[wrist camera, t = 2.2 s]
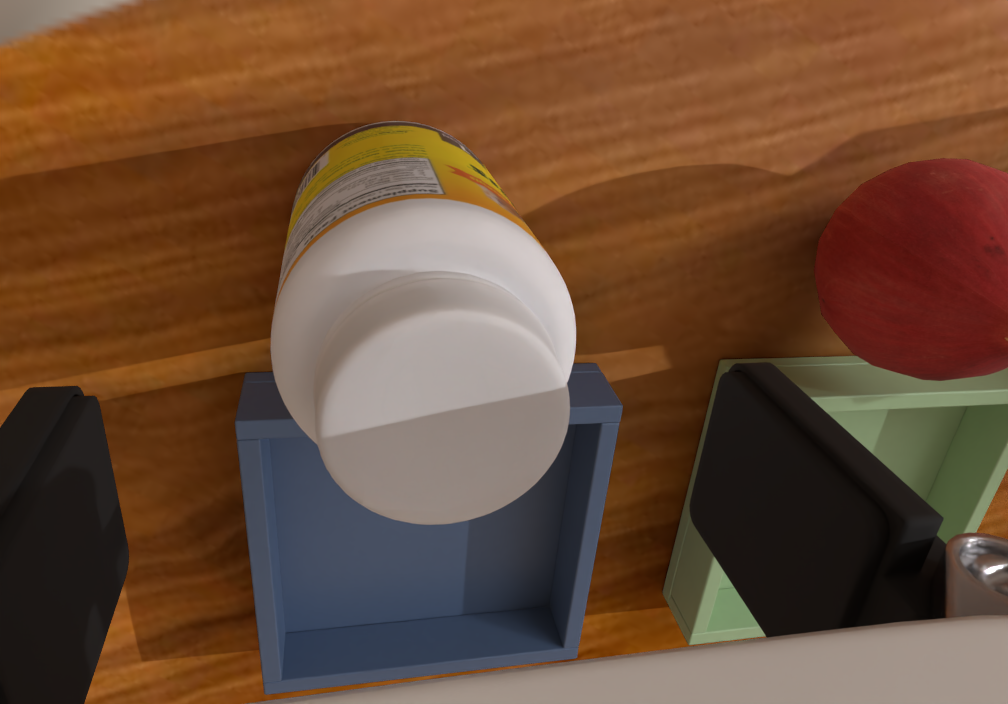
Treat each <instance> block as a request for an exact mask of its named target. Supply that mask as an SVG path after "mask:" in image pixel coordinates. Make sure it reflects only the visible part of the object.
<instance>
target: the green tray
mask: <svg viewBox="0 0 1008 704" xmlns="http://www.w3.org/2000/svg"><path fill="white" fill-rule="evenodd" d="M760 362H770V363H771V364H773V365H775V366H776V367H777V368H778V369H779V370H780V371H781V372H782V373H783V374H785V375H786V376H787V377H788V378H789V379H790V380H791V381H792V382H793V383H795V384H796V385H797V386H798V387H799V388H800V389H801V390H802V391H803V392H805V393H806V394H807V395H808V396H809V397H810V398H811V399H812V400H813V401H815V402H816V403H817V404H818V405H819V406H820V407H821V408H822V409H823V410H825V411H826V412H827V413H828V414H829V415H830V416H831V417H832V418H833V419H835V420H836V421H837V422H838V423H839V424H840V425H841V426H842V427H843V428H845V429H846V430H847V431H848V432H849V433H850V434H851V435H852V436H853V437H855V438H856V439H857V440H858V441H859V442H860V443H861V444H862V445H863V446H864V447H866V448H867V449H868V450H869V451H870V452H871V453H872V454H873V455H874V456H876V457H877V458H878V459H879V460H880V461H881V462H882V463H883V464H884V465H886V466H887V467H888V468H889V469H890V470H891V471H892V472H893V473H894V474H896V475H897V476H898V477H899V478H900V479H901V480H902V481H903V482H904V483H906V484H907V485H908V486H909V487H910V488H911V489H912V490H913V491H914V492H916V493H917V494H918V495H919V496H920V497H921V498H922V499H923V500H924V501H926V502H927V503H928V504H929V505H930V506H931V507H932V508H933V509H934V510H936V511H937V512H938V513H939V514H940V515H941V516H942V517H943V518H944V519H943V522H942V524H941V526H940V528H939V531H938V533H937V536H938V537H939V538H940V539H941V540H943V541H944V542H945V543H946V544H947V542H948V540H950V539H951V538H953V537H954V536H955V535H958V534H963V533H969V532H970V533H976V531H977V529H978V527H979V525H980V523H981V521H982V519H983V517H984V515H985V513H986V511H987V509H988V507H989V505H990V503H991V501H992V499H993V497H994V495H995V493H996V491H997V489H998V487H999V485H1000V483H1001V481H1002V479H1003V477H1004V475H1005V473H1006V471H1007V469H1008V368H1006V369H1004V370H1001V371H999V372H996V373H992V374H989V375H985V376H978V377H970V378H961V379H953V380H945V381H932V380H921V379H918V378H914V377H910V376H907V375H903V374H900V373H896V372H893V371H889V370H886V369H882V368H879V367H876V366H872V365H871V364H869V363H868V362H866V361H864V360H863V359H861V358H860V357H858V356H832V357H797V358H761V359H725V360H720V362H719V366H718V370H717V374H716V378H715V382H714V386H713V390H712V394H711V398H710V402H709V406H708V410H707V414H706V418H705V422H704V426H703V430H702V434H701V438H700V443H699V447H698V451H697V455H696V459H695V463H694V467H693V471H692V475H691V479H690V483H689V487H688V491H687V495H686V499H685V503H684V507H683V511H682V515H681V519H680V523H679V527H678V531H677V536H676V540H675V544H674V548H673V552H672V556H671V560H670V564H669V568H668V572H667V576H666V580H665V584H664V588H663V592H662V593H663V596H664V597H665V599H666V601H667V603H668V605H669V607H670V609H671V611H672V613H673V615H674V617H675V619H676V621H677V623H678V625H679V627H680V629H681V631H682V633H683V635H684V637H685V639H686V641H687V643H688V644H689V645H695V644H703V643H712V642H720V641H729V640H737V639H746V638H755V637H763V636H766V635H765V634H764V632H763V631H762V629H761V628H760V626H759V625H758V623H757V622H756V620H755V619H754V617H753V615H752V614H751V612H750V611H749V609H748V608H747V606H746V605H745V603H744V602H743V600H742V599H741V597H740V595H739V594H738V592H737V591H736V589H735V588H734V586H733V585H732V583H731V582H730V580H729V579H728V577H727V576H726V574H725V572H724V571H723V569H722V568H721V566H720V565H719V563H718V562H717V560H716V559H715V557H714V556H713V554H712V552H711V551H710V549H709V548H708V546H707V545H706V543H705V542H704V540H703V539H702V537H701V536H700V534H699V533H698V531H697V529H696V528H695V526H694V525H693V523H692V520H691V517H690V507H689V505H690V499H691V495H692V491H693V487H694V483H695V478H696V474H697V470H698V466H699V462H700V458H701V453H702V449H703V445H704V441H705V437H706V433H707V429H708V424H709V420H710V416H711V412H712V408H713V404H714V399H715V395H716V391H717V387H718V383H719V380H720V377H721V376H722V374H724V373H725V372H729V369H730V368H731V367H732V365H734V364H736V363H760Z"/></svg>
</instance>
